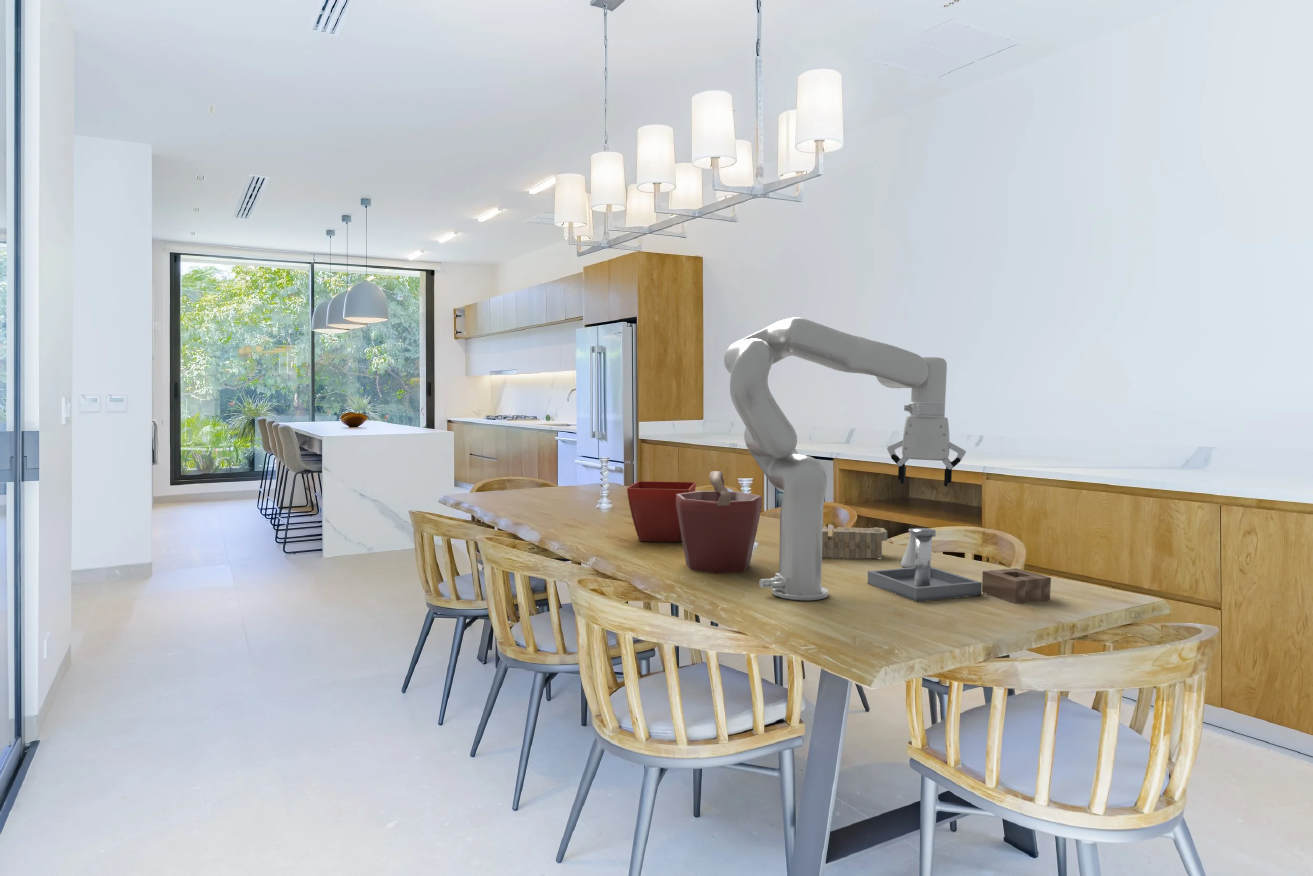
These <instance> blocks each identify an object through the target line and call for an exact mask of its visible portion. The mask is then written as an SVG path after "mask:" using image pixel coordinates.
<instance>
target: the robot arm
mask: <svg viewBox="0 0 1313 876" xmlns="http://www.w3.org/2000/svg"><path fill="white" fill-rule="evenodd" d="M723 356H724V357H723V363H724V367H725V369H726V370H727V372H728V373H729V374H730V379H729V393H730V399H731V401H732V404H733V406H734V408H735V411H736V412H737V414H738V416H739V417H740V419H741V421H742V422H743V424H744V426H745V428H744V433H743V438H744V443H745V445H746V448H747V449H748V451H749V453H750V454H751V456H752V457H753V459H754V460H755V462H756V463H757V465H758V466H759V468H760V470H761V471H762V472H763V474H764V475H765V476H766V479H767V480H768V481H769V482H770V484H771V485H772V486H773V487H774V488H776V489H777V490H778V491H781V492H782V493H783V494H782V500H781V505H780V514H779V556H778V557H779V559H778V560H779V563H778V565H779V567H778V572H774V576H772V577H771V578H760V579H759V582H758V584H759V588H761V589H762V588H770V589H771V593H772V594H773V595H774V596H775V597H779V598H781V599H785V600H792V601H819V600H823V599H825V598H827V597H828V596H829V590H828V589H827V588H826V587H825V586H823V585H822V572H823V570H822V566H823V564H822V563H823V562H822V561H823V557H822V528H823V527H824V525H823V524H824V523H823V522H824V521H823V520H824V519H823V518H824V505H825V497H826V493H827V486H828V477H827V472H826V470H825V467H824V466H823V464H821V462H820V461H819V460H817V459H816V458H814V457H812V456H809V455H806V454H801V453H798V451H797V449H796V447H797V444H798V435H797V432H796V429H795V428H794V427H793V425H792V423H791V422H790V420H788V418H787V416H786V414H785V413H784V411H783V410H782V409H781V407H780V406H779V405H778V403H777V401H776V399H775V398H774V395H773V394H772V393H771V390H770V387H769V374H770V371H771V368H772V365H774V364H776V363H778V362H780V361H782V360H783V359H785V358H787V357H792V356H793V357H797V358H799V359H801V360H805V361H808V362H812V363H815V364H818V365H820V366H824V367H826V368H828V369H832V370H834V371H839V372H844V373H851V374H862V375H867V376H869V375H870V376H874V377H875V378H876V379H877V381H878V383H879V384H881V385H882V386H883V387H886V388H890V389H911V391H910V392H911V394H910V395H911V396H910V403H909V404H906V405H903V406H904V407H903V411H904V412H908V413H909V414H910V416H908V415H907V416H906V418H905V422H904V429H903V435H902V440H900V441H898V442H895V443H894V444H891V445H889V446H887V447H886V449H887V452H888V453H889V455H890V458H891V460H892V461H893V462H894V463H895V464H896V466H898V470H897V479H898V480H900V484H905V483H906V478H907V477H906V475H907V474H906V473H907V466H906V464H905V463H907V462H908V461H909V460H915V461H916V460H917V461H918V460H919V461H921V460H922V461H938V462H939V461H940V462H942V463H943V464H944V465H945V469H944V476H943V478H944V479H943V486H944V487H949V484H951V483H952V481H953V480H952V478H953V477H952V476H953V468H955V467H956V466H957V465H958V464H959V463H960V462H961V461H962V459H963V457H965V455H966V450H965V449H963V448H962V447H960V446H958V445H957V444H954V443H952V442H950V426H949V419H948V417H946V416H945V413H946V411H945V410H946V395H947V393H946V392H947V374H948V373H947V372H948V371H947V370H948V369H947V368H948V364H947V361H946V360H945V359H944V358H943V357H936V356H935V357H934V356H933V357H932V356H927V357H926V356H920V355H919V354H917V353H915V352H911V351H910V350H906V349H903V348H900V347H898V346H895V345H891V344H889V343H884V342H880V341H876V340H871V339H868V338H865V337H863V336H862V337H861V336H857V335H852V334H849V333H847V332H843V331H841V330H838V329H835V328H832V327H830V326H826V325H824V324H822V323H818V322H815V321H813V320H809V319H806V318H802V317H790V318H785V319H782V320H779V321H776V322H775V323H772V324H771V325H769V326H767V327H764V328H762V329H761V330H759V331H756V332H754V333H752V334H750V335H748V336H746V337H744V338H742V339H739V340H738V341H735V342H733V343H732V344H730V346H729V347H728V348H726V351H725V353H724V355H723ZM900 448H901V449H902V450H901V451H902V452H901V455H902V457H901V458H900V457H899V455H897V454H896V450H897V449H900ZM950 450H952V451H954V452H956V453H957V456H956V457H955V458H954V459H953V460H952V461H951V460H950V458H949V455H950Z"/></svg>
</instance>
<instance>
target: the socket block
mask: <svg viewBox="0 0 1313 876" xmlns="http://www.w3.org/2000/svg"><path fill="white" fill-rule="evenodd" d="M981 580H982V581H981V582H982V591H981V593H982V592H983V593H982V594H985V593H987V594H986V595H988V596H992V597H995V598H997V599H1001V600H1003V599H1004V601H1006V600H1007V601H1006V602H1009V601H1010V602H1009V603H1012V602H1013V603H1012V604H1022V602H1024V603H1031V602H1032V601H1033V602H1041V601H1050V600H1051V587H1052V586H1051V581H1052V578H1051V577H1050V576H1047V575H1043V574H1039V573H1035V572H1032V571H1027V570H1024V569H1020V568H1017V567H1016V568H1004V569H1002V568H1001V569H994V570H992V569H991V570H983V571H982V579H981ZM1033 602H1032V603H1033Z"/></svg>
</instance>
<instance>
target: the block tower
mask: <svg viewBox="0 0 1313 876" xmlns="http://www.w3.org/2000/svg"><path fill="white" fill-rule="evenodd" d="M831 531H832V535H829V529H828V527H827V526H823V528H822V558H824V557H831V558H830V559H842V558H841V557H845V558H844V559H852V558H882V559H883V542H887V541H888V531H887V530H886V529H885V528H884V527H878V526H877V527H875V526H874V527H869V528H868V527H865V528H864V527H849V526H848V527H847V526H846V527H845V526H844V527H840V526H839V527H836V528H832V529H831Z"/></svg>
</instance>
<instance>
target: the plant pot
mask: <svg viewBox="0 0 1313 876" xmlns="http://www.w3.org/2000/svg"><path fill="white" fill-rule="evenodd" d="M696 486H697V482H695V481H654V480H653V481H649V480H648V481H645V480H642V481H641V480H639V481H635V482H634V483H633V484H631V485H630V486H628V487H626V491H627V500H628V504H629V505H628V506H629V509H630V513H631V514H630V515H631V517H632V518H631V519H632V522H633V525H634V528H635V529H634V530H635V532H636V535H637V538H638V540H639V541H641V542H663V543H664V542H667V543H668V542H669V543H670V542H671V543H672V542H673V543H680V542H681V541H682V537H681V531H680V526H679V520H678V514H677V508H676V494H680V493H689V492H696V488H697V487H696Z"/></svg>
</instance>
